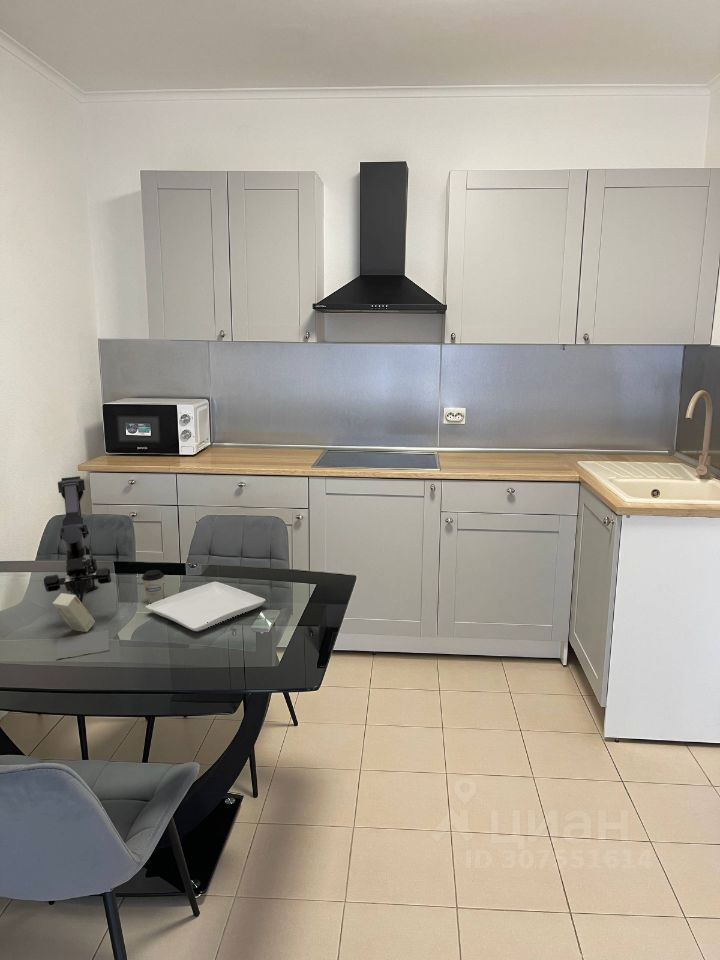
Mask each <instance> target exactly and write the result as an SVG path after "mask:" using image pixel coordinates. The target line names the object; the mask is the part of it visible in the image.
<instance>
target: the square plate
mask: <svg viewBox="0 0 720 960" xmlns="http://www.w3.org/2000/svg"><path fill="white" fill-rule="evenodd" d="M266 601H267V600H266V599H265V598H264V597H261V596H259V595H255V594H253V593H251V592H248V591H244V590H242V589H239V588H236V587H233V586H231V585H227V584H226V583H222V582H218V581H212V582H209V583H206V584H203V585H199V586H196V587H193V588H191V589H190V588H189V589H187V590H185V591H181V592H179V593H176V594H173V595H170V596H168V597H165V598H163V599H162V600H159V601H157V602H154V603H152V604H150V603H148V604H147V605H145V608H146V609H148V610H150V611H151V612H152V613H154V614H156V615H158V616H161V617H163V618H166V619H168V620H170V621H173V622H174V623H177V624H178V625H181V626H183V627H185V628H187V629H188V630H191V631H194V632H201V631H203V630H205V629H208V627H209V628H211V627H210V626H212V627H213V625H214V626H216V625H215V624H217V625H219V624H221V623H223V622H222V621H224V622H226V621H228V620H227V619H229V620H231V619H233V618H232V617H234V618H236V617H238V616H237V615H239V616H241V615H242V613H243V614H245V612H246V613H247V612H250V611H252V610H255V609H257V608H259V607H261V606H262V605H263V604H264V603H265V602H266ZM240 614H241V615H240ZM235 616H236V617H235ZM230 618H231V619H230ZM225 620H226V621H225ZM207 622H208V623H207ZM220 622H221V623H220ZM218 623H219V624H218Z"/></svg>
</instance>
